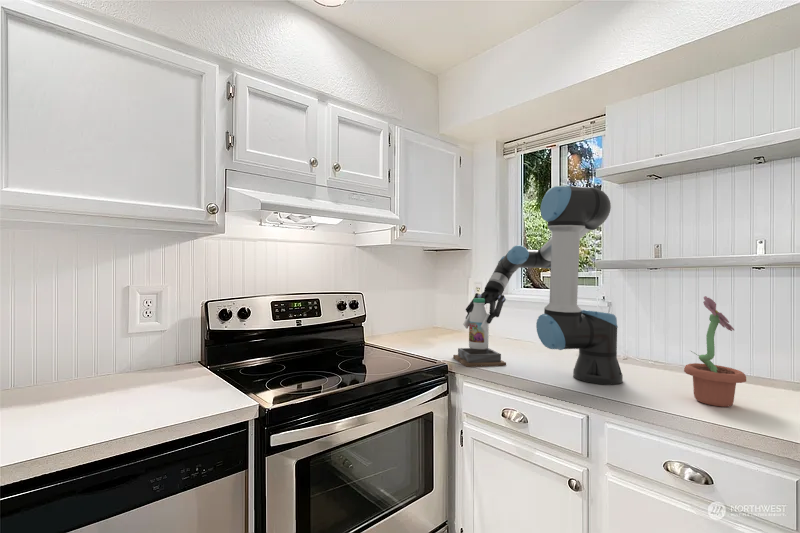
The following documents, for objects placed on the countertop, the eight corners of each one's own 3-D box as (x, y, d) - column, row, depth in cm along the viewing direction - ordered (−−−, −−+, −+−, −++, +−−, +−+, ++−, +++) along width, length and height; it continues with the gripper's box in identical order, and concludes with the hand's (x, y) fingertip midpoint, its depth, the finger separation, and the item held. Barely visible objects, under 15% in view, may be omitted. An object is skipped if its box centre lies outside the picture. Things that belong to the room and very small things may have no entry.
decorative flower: (753, 416, 103) (754, 299, 104) (687, 406, 110) (688, 296, 110) (739, 400, 116) (739, 296, 117) (681, 392, 123) (681, 294, 123)
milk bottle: (477, 345, 168) (477, 297, 168) (492, 348, 162) (492, 298, 162) (464, 347, 163) (465, 298, 163) (480, 350, 157) (480, 299, 157)
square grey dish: (506, 365, 155) (506, 354, 155) (466, 366, 153) (466, 355, 153) (489, 356, 171) (489, 346, 171) (453, 357, 168) (453, 347, 168)
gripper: (521, 293, 166) (500, 336, 155) (479, 290, 180) (457, 330, 169) (514, 280, 162) (492, 324, 151) (472, 279, 177) (449, 318, 165)
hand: (473, 327), depth 160 cm, fingers closed on milk bottle, 7 cm apart
